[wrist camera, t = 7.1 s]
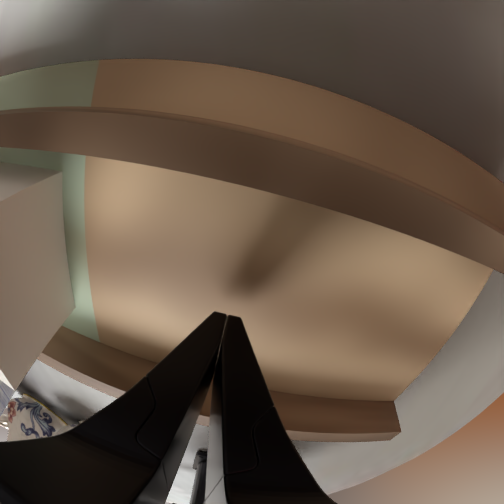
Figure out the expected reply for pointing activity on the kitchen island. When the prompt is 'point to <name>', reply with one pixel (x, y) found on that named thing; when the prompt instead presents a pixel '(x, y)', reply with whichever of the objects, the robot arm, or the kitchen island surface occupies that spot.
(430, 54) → the kitchen island surface
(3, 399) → the medicine box
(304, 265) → the light wood shallow tray
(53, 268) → the cream block
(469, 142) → the kitchen island surface
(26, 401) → the chinaware
